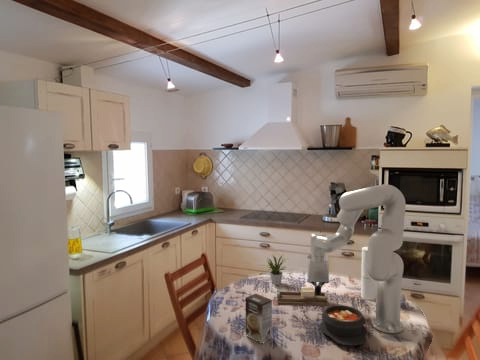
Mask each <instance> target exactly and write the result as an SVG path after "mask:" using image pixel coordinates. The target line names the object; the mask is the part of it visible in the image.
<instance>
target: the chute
mask: <svg viewBox="0 0 480 360" xmlns="http://www.w3.org/2000/svg"><path fill="white" fill-rule="evenodd" d="M325 294H326V293H325V292H324V291H323V292H322V291H321V293H320V295H316V293H315V291H314V298H306V297H301V291H287V290H286V291H285V290H283V291H281V290H280V288H276V299H277V302H276V303H277V305H282V306H283V305H286V306H287V305H289V306H292V305H293V306H299V305H300V306H325V307H329V306H328V305H329V303H328V298H326V295H325Z"/></svg>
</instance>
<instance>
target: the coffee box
mask: <svg viewBox="0 0 480 360" xmlns="http://www.w3.org/2000/svg"><path fill="white" fill-rule="evenodd" d="M272 309H273V300H272V299H271V298H267V297H266V296H264V295H261V294H258V293H253V294H250V295H248V296H246V297H245V336H246V335H248V336H250V337H252V338H254V339H255V340H257V341H259V342H260V343H259V342H258V343H259V344H261V343H263V342H264V343H266V342H268V341H269V340H268V339H270V338H271V339H272V337H273V335H272V333H273V331H272V330H273V326H272V324H273V323H272V322H273V319H272V316H273V310H272ZM248 336H247V337H248ZM250 337H249V338H250ZM252 338H251V339H252ZM271 339H270V340H271ZM255 340H254V341H255ZM267 340H268V341H267ZM257 341H256V342H257ZM265 341H266V342H265ZM264 343H263V344H264Z"/></svg>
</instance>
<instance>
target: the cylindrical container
mask: <svg viewBox="0 0 480 360" xmlns="http://www.w3.org/2000/svg"><path fill="white" fill-rule="evenodd" d="M367 254H368V246H363V247H361V274H360V277H361V279H360V280H361V282H360V289H361V290H360V297H361V298H362V299H363V300H367V301H374V300H375V301H376V283H377V281H375V280H374V279H372V278H371V277H370V275H369V274H368V271H367Z"/></svg>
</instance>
